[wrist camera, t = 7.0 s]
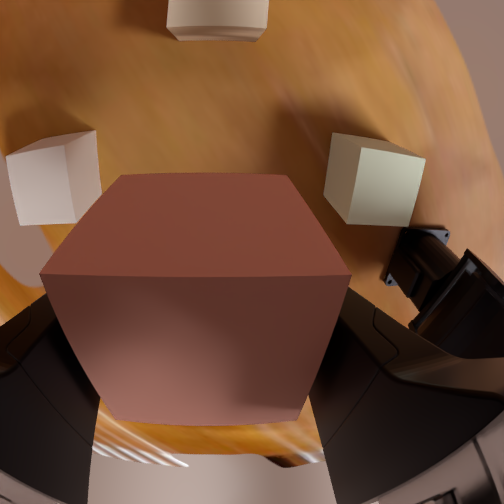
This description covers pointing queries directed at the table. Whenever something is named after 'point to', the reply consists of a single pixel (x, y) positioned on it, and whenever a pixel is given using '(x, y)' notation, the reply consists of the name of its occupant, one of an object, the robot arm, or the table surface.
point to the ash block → (217, 19)
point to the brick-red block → (199, 297)
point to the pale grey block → (55, 178)
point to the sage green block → (372, 180)
